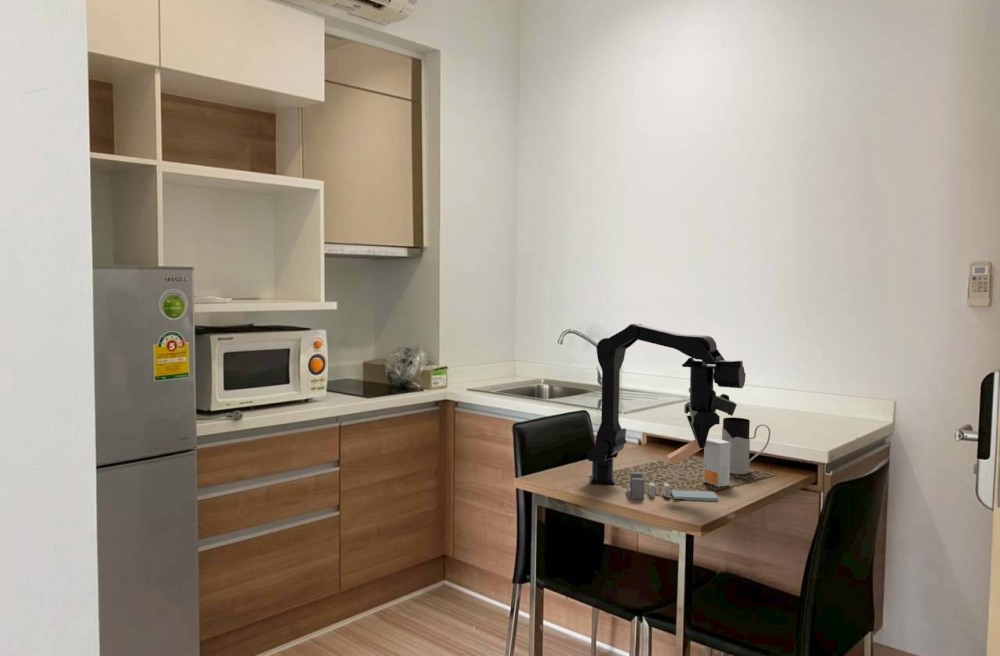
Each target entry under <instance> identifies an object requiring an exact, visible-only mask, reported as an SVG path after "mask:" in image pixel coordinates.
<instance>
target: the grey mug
mask: <svg viewBox="0 0 1000 656" xmlns="http://www.w3.org/2000/svg"><path fill="white" fill-rule="evenodd" d="M750 423H751V420H750V419H749V418H744V417H735V416H734V417H732V416H731V417H724V418H723V419H722V427H721V440H724V441H728V442H731V446H730V474H733V475H735V474H736V475H745V474H749V473H751V468H750V465H751V462H752V461H753V460H754V459H755V458H756V457H758V456H760V454H761V453H763V452H764V451H765V450H766V448H767V447H768V444H769V443H770V438H771V429H770V427H769V426H768V425H767V424H764V423H763V424H758V425H756V427H755V429H754V435H753V436H752V437H750V428H751V427H750V426H751V424H750ZM762 426H764V427H766V428H767V429H768V437H767V441H766V443H765V445H764V446H763V448H762V449H761V450H760V451H759V452H758V453H756V454H754V456H752V457H751V458H750V444H751V443H750V442H751V440H754V439H755V438H756V436H757V430H758V428H760V427H762Z"/></svg>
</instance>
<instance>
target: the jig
mask: <svg viewBox="0 0 1000 656" xmlns="http://www.w3.org/2000/svg"><path fill="white" fill-rule="evenodd" d="M629 478H630V482H629V483H628V482H627V483H626V492H627V497H628V499H630V500H631V499H634V500H645V478H643V472H637V471H636V472H630V475H629ZM670 489H671V486H670V484H669V483H668V482H664V483H663V493H664V495H663V497H664V496H665V497H670V494H671V490H670ZM648 495H650V496H649V497H650V498H655V496H656V484H655V482H649V483H648ZM665 497H664V498H665Z"/></svg>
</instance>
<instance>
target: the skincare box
mask: <svg viewBox="0 0 1000 656" xmlns="http://www.w3.org/2000/svg"><path fill="white" fill-rule="evenodd" d="M706 444H707V445H708V446H707V447H705V448H703V470H702V473H703V474H702V475H703V476H702V477H703V478H702V482H703V483H706V482H707V483H706V484H709V483H710V485H712V484H713V486H715V487H717V486H718V488H720V486H722V487H727V486H730V476H731V473H730V446H731V442H728V441H724V440H722V439H719V438H707V440H706Z"/></svg>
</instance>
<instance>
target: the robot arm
mask: <svg viewBox="0 0 1000 656" xmlns="http://www.w3.org/2000/svg"><path fill="white" fill-rule="evenodd" d="M638 341H642V342H646V343H650V344H654V345H658V346H662V347H667V348H671V349H674V350H676V351H679V352H680V353H681V354H683V355H685V356H688V358H687V360H686V361H685V362H683V363H682V365H681V366H682V368H689V369H690V370H689V373H690V374H689V376H690V377H689V383H690V384H689V388H688V392H689V401H687V402H686V403H685V404H684V406H683V407H684V411H683V412H684V413H685V414H689V415H686V419H687V421H688V424H689V426H690V428H691V432H692V434H693V437H694V440H695V439H697V442H698V444H699V447H700V448H703V449H704V447H705V444H706V440H707V439H708V435H709V433H710V430H711V428H712V427H714V426H717V425H720V423H721V422H720V415H719V414H718V413H717V412H716V411H717V410H718V411H720V412H723V413H726V414H727V415H729V416H731V417H732V416H733V415H734V413H735V411H736V408H737V406H738V405H737V403H736V402H734V401H733V400H730V396H729V395H728V394H725V393H721V394H720V395H717V392H716V390H714V383H715V384H717V387H719V388H729V389H730V388H733V389H743V388H744V387H745V383H746V372H745V367H744V365H743V364H744V363H743V360H725V358H724V357H723V356H722V354H721V353H720V351H719V349H718V348H717V343H716V341H715V340H714V338H713V337H712V336H710V335H700V334H680V333H676V332H671V331H668V330H664V329H659V328H654V327H651V326H647V325H643V324H641V323H632V324H629V325H628V326H626V327H625V328H623V330H620V331H618V332H617V333H615V334H613V335H611V336H610V337H605V338H602V339H600V340H599V341H598V342H597V344H596V355H597V361H598V364H599V366H600V369H601V417H600V418H601V419H600V425H599V427H598V430H597V432H596V436H595V437H596V438H595V441H594V446H593V447H592V448H590V450H588V452H586V458H587V460H588V462H591V465H592V466H591V476H590V477H589V480H590V484H597V485H598V484H599V485H600V484H601V485H615V482H616V481H615V477H614V459H615V458H617V457H618V455H619V452H621V451H622V450H623V449H624V446H625V444H627V440H626V434H627V429H626V428H622V427H621V424H620V419H619V418H620V417H619V415H620V412H619V411H620V372H621V368H622V365H623V363H624V360H625V355H626V350H627V349H629V347H631V346H632V345H634V344H635V343H636V342H638Z"/></svg>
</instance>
